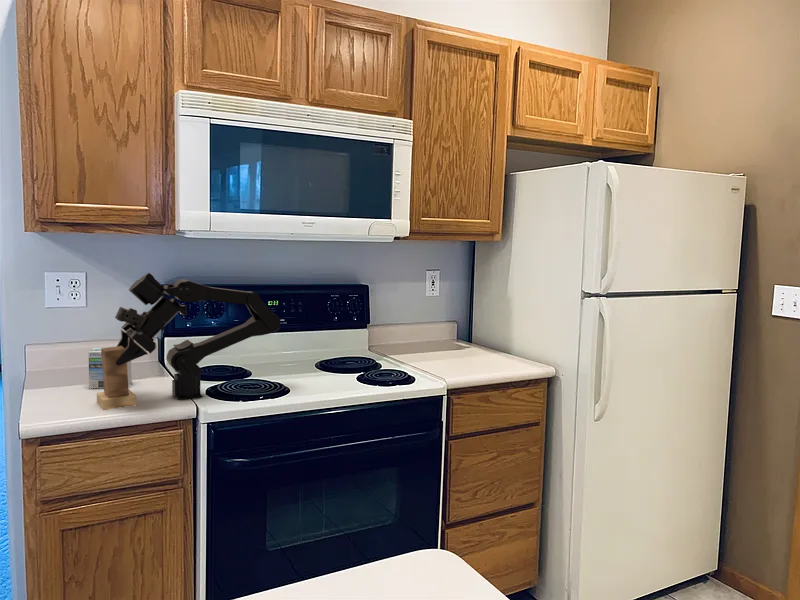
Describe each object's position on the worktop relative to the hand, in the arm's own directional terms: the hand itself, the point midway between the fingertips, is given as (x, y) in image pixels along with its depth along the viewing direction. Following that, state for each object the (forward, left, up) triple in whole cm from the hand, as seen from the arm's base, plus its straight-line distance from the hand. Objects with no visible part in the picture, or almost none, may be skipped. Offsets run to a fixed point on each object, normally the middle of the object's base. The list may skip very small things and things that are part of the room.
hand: (114, 361), depth 166 cm
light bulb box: (-3, -20, -12) cm, 24 cm away
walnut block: (0, 0, -9) cm, 9 cm away
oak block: (0, 0, -12) cm, 12 cm away
